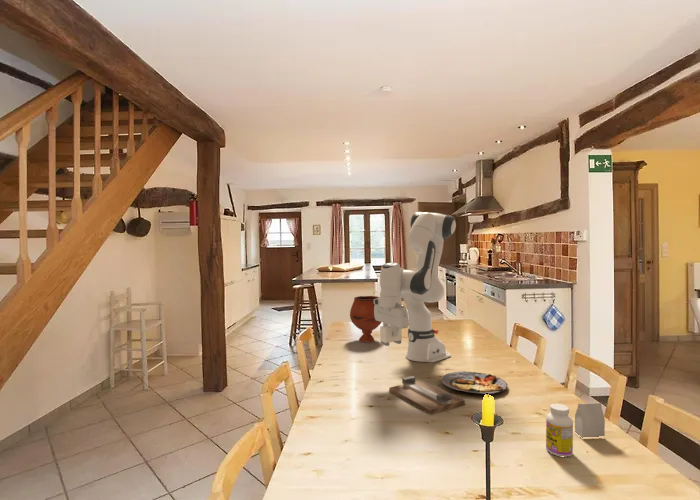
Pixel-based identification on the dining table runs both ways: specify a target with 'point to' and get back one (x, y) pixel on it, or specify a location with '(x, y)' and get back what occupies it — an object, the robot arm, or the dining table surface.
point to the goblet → (364, 316)
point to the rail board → (425, 395)
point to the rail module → (389, 335)
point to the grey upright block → (589, 420)
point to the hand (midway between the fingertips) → (391, 334)
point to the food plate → (474, 382)
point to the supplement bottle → (559, 431)
